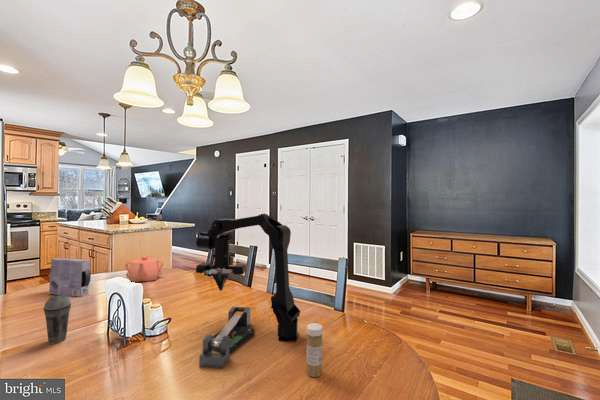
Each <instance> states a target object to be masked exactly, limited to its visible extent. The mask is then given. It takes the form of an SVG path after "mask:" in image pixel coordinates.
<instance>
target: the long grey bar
mask: <svg viewBox="0 0 600 400" xmlns="http://www.w3.org/2000/svg"><path fill="white" fill-rule="evenodd" d="M242 316H243V312H238V311H236V312H235V313H234V315H233V316H232V318H231V319H230V320H229V322H227V323H226V324H225V326H224V327H223V328H222V329H221V330H222V331H221V330H220V331H221V332H220V331H219V332H220V333H219V334H218V336H217V337H216V338H215V339H214V341H212V342H211V347H218V348H221V340H222V339H223V337H224V336H228V335H229V334H230V332H231V331H232V330H233V328H234V327H235V325H236V324H237V322H238V321H239V320H240V318H241V317H242Z"/></svg>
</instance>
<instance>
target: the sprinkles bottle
mask: <svg viewBox="0 0 600 400" xmlns="http://www.w3.org/2000/svg"><path fill="white" fill-rule="evenodd" d="M323 334H324V333H323V326H322V325H321V324H320V323H314V322H313V323H309V324H308V325H307V326H306V371H305V372H306V374H307V375H308V377H312V378H318V377H320V376H322V373H323V372H322V369H323V368H322V366H323V365H322V362H323V342H322V341H323Z"/></svg>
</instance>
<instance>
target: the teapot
mask: <svg viewBox="0 0 600 400" xmlns="http://www.w3.org/2000/svg"><path fill="white" fill-rule="evenodd" d="M159 263H160V265H159ZM128 265H129V266H128ZM163 265H164V262H163V261H162V260H161V259H158V257H149V256H147V255H144V256H141V258H133V260H130V261H128V262H126V263H125V265H124V267H125V270H126V271H127V272H126V273H125V277H128V280H130V281H132V282H131V283H139V282H151V281H156V280H157V279H158V277H159V276H160V275H162V274H163V271H162V268H163ZM130 281H129V282H130Z"/></svg>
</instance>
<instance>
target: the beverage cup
mask: <svg viewBox="0 0 600 400" xmlns="http://www.w3.org/2000/svg"><path fill="white" fill-rule="evenodd" d="M60 283H61V281H59V286H58V295H52V296H50V297H49V298H48V299H47V300H46V302H45V303H44V306H43V312H44V316H45V322H46V331H47V333H46V334H47V340H48V344H49V343H55V344H59V343H58V342H60V343H62V342H64V341H66V339H67V335H68V334H67V333H68V325H69V317H70V312H71V306H72V303H71V300H70V298H69V296H65V295H62V294H60ZM61 341H62V342H61Z"/></svg>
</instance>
